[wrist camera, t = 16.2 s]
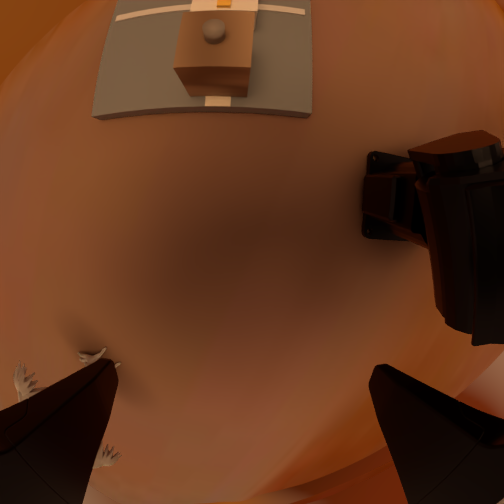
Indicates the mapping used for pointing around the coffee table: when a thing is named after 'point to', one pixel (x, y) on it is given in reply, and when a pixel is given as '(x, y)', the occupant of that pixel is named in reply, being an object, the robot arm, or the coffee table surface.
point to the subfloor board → (167, 81)
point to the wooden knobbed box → (215, 52)
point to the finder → (225, 6)
